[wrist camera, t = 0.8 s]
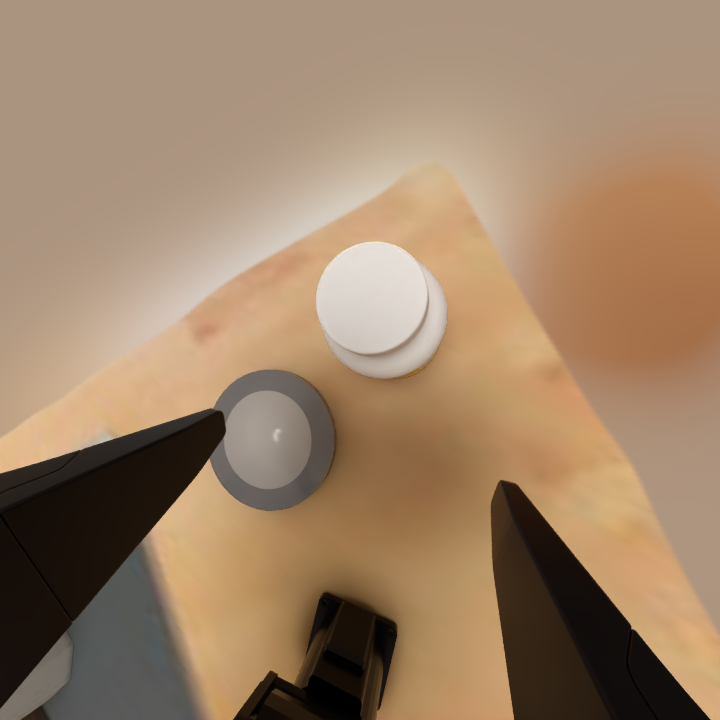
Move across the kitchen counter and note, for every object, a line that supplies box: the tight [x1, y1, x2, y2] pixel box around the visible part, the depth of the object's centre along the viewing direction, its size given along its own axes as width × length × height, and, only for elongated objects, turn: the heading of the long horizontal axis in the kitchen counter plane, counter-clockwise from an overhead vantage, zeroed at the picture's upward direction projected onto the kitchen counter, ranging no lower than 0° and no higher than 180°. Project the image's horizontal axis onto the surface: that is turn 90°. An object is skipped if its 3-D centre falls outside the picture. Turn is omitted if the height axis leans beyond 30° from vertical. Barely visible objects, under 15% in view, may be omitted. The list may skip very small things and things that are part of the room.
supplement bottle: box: [316, 242, 447, 379], centre depth 18 cm, size 7×7×13 cm
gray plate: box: [210, 370, 336, 511], centre depth 26 cm, size 12×12×1 cm
